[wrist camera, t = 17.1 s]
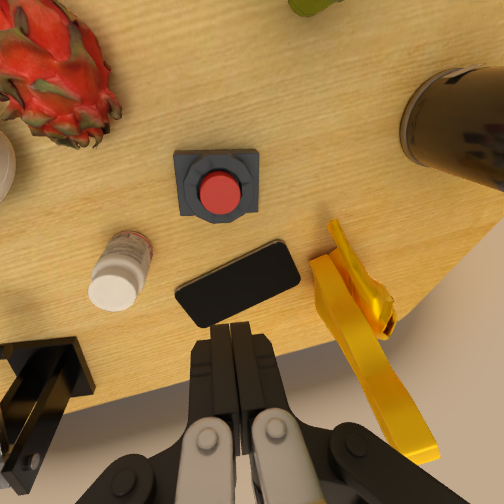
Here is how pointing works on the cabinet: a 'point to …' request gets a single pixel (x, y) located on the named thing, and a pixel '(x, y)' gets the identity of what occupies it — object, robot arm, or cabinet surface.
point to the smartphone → (239, 284)
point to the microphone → (310, 6)
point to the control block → (206, 161)
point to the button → (219, 192)
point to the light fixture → (6, 165)
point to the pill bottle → (120, 271)
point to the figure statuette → (369, 344)
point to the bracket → (39, 402)
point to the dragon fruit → (54, 73)
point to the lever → (3, 450)
